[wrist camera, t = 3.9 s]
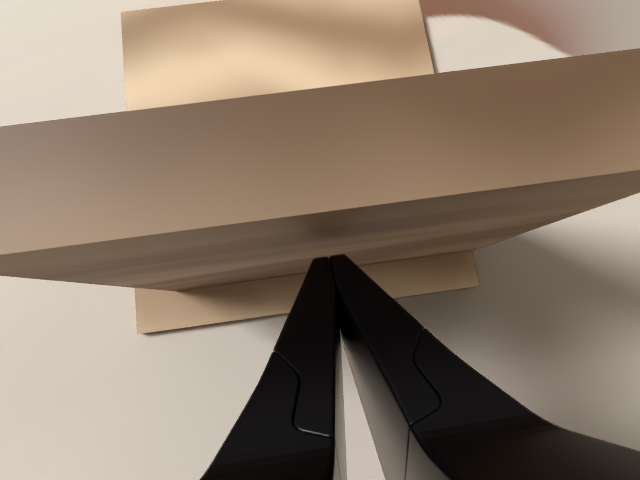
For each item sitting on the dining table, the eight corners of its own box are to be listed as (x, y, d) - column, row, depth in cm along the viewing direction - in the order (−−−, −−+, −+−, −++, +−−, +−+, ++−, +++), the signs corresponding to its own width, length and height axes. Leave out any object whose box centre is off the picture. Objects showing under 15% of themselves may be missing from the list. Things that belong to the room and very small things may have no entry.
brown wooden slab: (471, 250, 19) (744, 155, 7) (175, 291, 18) (-93, 266, 6) (461, 203, 19) (700, 35, 7) (172, 241, 18) (-85, 130, 7)
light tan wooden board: (476, 286, 19) (479, 286, 18) (141, 333, 18) (137, 334, 18) (412, -16, 22) (414, -22, 21) (124, 17, 21) (121, 12, 21)
